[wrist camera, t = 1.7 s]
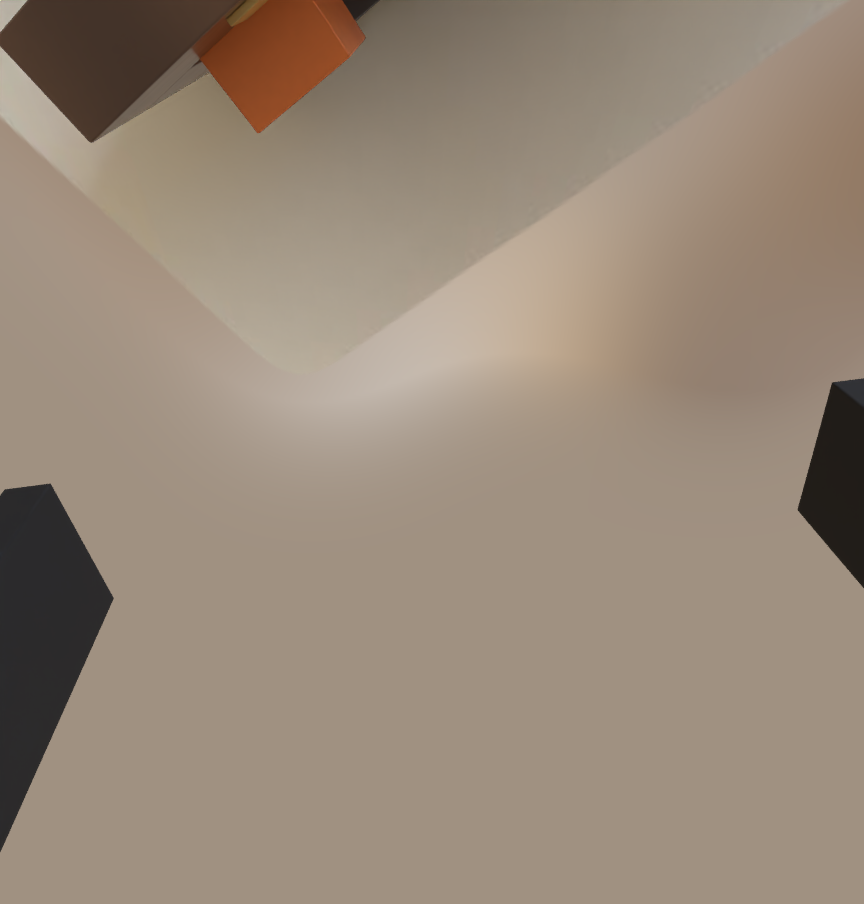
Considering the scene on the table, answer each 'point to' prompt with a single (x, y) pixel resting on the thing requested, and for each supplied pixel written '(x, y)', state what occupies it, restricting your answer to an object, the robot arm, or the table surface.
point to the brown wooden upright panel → (121, 51)
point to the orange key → (282, 55)
